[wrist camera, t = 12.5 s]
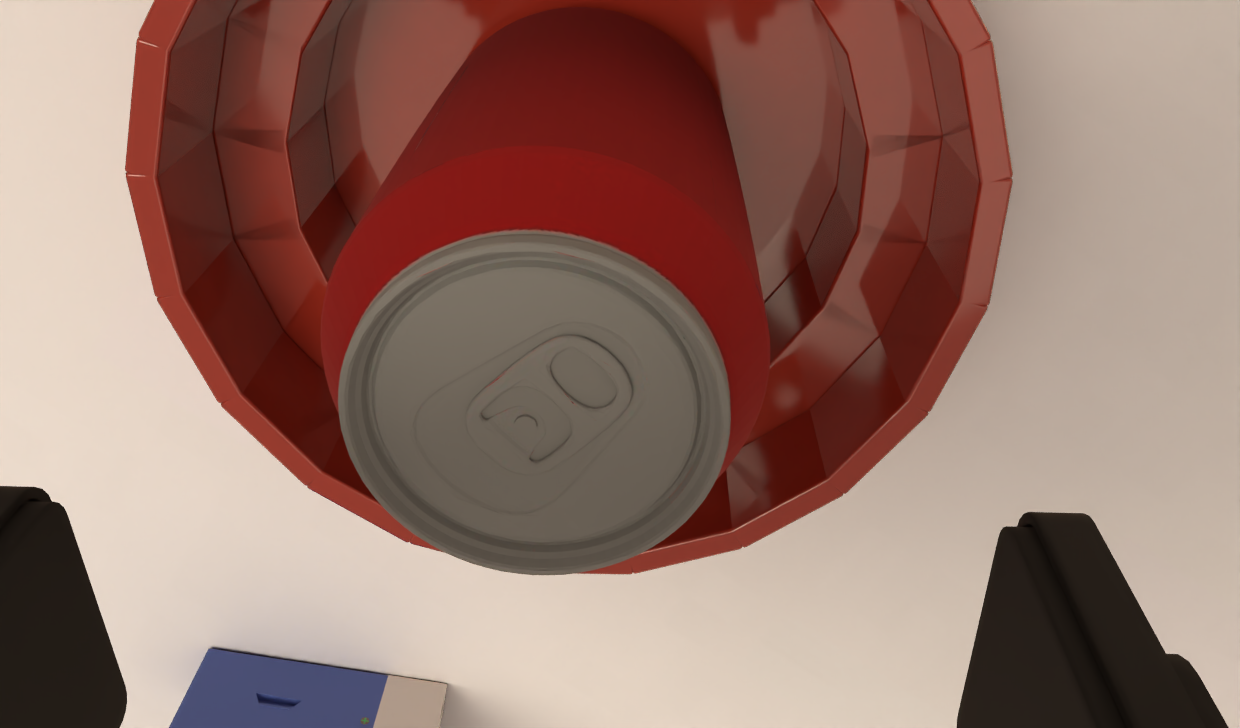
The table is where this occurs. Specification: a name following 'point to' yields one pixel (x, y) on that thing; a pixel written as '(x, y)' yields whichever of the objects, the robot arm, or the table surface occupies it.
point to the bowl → (768, 171)
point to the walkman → (303, 696)
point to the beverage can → (552, 303)
